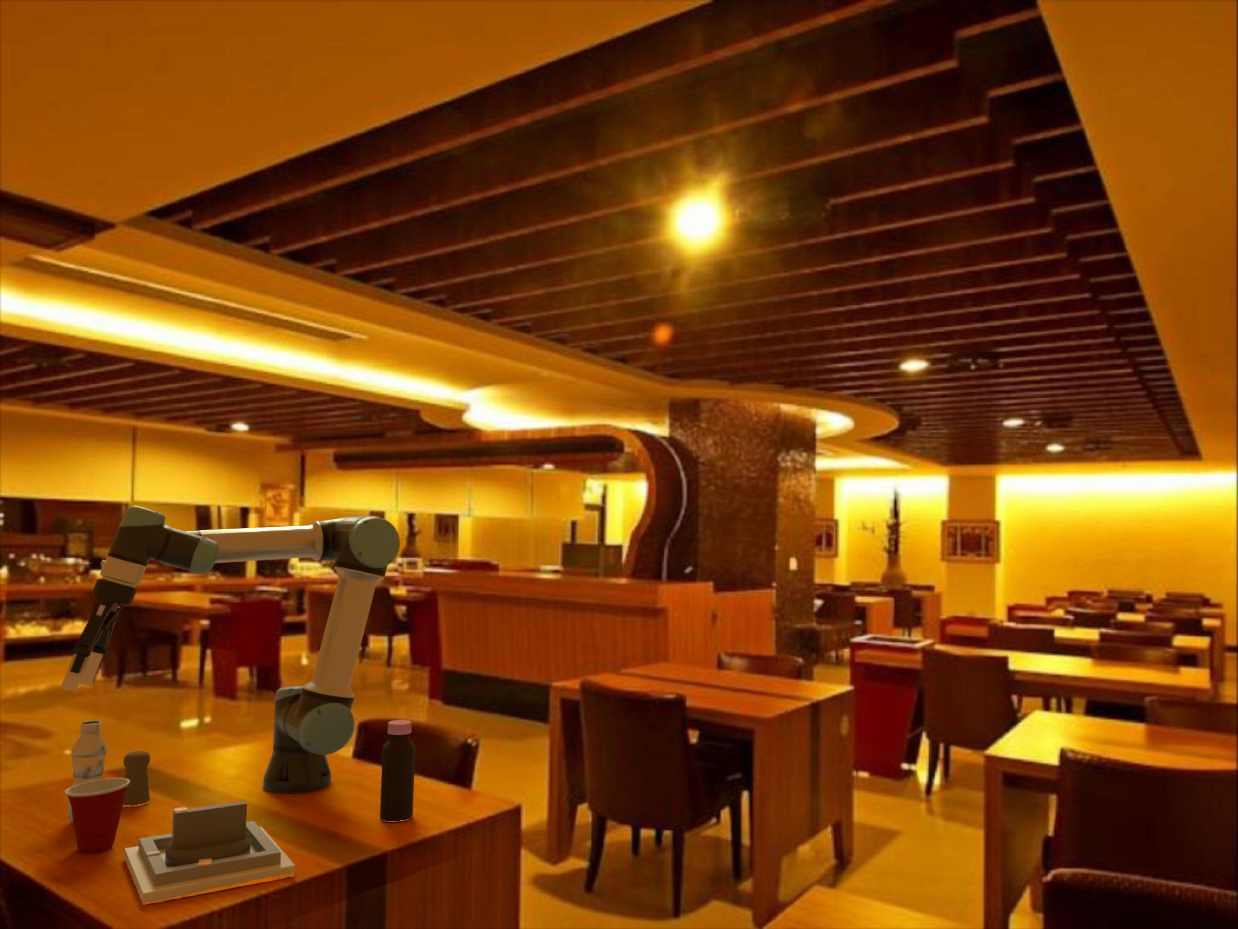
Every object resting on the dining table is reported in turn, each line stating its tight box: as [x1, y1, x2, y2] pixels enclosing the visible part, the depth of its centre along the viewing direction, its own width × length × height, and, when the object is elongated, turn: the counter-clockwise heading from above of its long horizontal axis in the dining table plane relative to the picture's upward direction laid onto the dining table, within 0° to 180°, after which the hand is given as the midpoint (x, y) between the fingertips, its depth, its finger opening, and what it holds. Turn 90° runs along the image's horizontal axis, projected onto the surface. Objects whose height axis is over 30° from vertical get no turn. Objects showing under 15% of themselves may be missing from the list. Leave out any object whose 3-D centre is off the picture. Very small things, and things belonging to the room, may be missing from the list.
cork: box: [122, 750, 151, 806], centre depth 203 cm, size 6×6×11 cm
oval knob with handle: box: [165, 800, 251, 867], centre depth 167 cm, size 14×14×9 cm
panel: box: [123, 820, 296, 903], centre depth 166 cm, size 24×24×4 cm
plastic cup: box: [64, 777, 130, 855], centre depth 175 cm, size 11×11×12 cm
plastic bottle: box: [67, 720, 108, 823], centre depth 190 cm, size 6×7×20 cm
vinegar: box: [379, 719, 416, 822], centre depth 197 cm, size 7×7×20 cm
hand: (75, 687), depth 181 cm, fingers open, 13 cm apart
